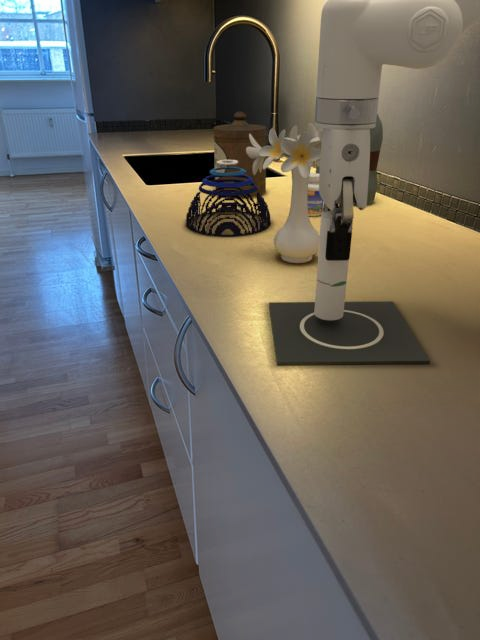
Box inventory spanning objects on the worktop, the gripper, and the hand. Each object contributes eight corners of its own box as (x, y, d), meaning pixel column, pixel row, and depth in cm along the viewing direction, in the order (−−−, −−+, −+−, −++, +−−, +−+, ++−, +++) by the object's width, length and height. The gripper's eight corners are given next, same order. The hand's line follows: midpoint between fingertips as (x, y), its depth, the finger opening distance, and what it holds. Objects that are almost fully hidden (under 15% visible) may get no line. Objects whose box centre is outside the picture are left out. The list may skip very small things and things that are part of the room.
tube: (311, 318, 75) (318, 218, 68) (316, 305, 79) (323, 209, 72) (341, 322, 74) (351, 220, 67) (344, 309, 77) (354, 212, 70)
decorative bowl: (273, 236, 114) (275, 170, 107) (183, 236, 114) (179, 170, 107) (268, 211, 131) (269, 153, 125) (190, 212, 131) (187, 154, 125)
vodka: (356, 196, 145) (368, 79, 131) (382, 202, 139) (397, 81, 125) (333, 201, 140) (343, 81, 126) (359, 208, 134) (372, 82, 120)
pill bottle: (302, 216, 127) (304, 177, 123) (299, 210, 132) (301, 172, 128) (324, 216, 127) (327, 176, 123) (320, 210, 132) (323, 172, 128)
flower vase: (250, 246, 108) (250, 120, 97) (338, 249, 106) (350, 120, 94) (242, 268, 97) (242, 129, 85) (341, 273, 94) (354, 130, 83)
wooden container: (217, 186, 157) (215, 109, 147) (265, 186, 156) (266, 109, 146) (213, 198, 144) (210, 114, 134) (265, 198, 143) (267, 114, 133)
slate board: (392, 304, 83) (392, 300, 82) (429, 363, 67) (430, 359, 66) (268, 305, 83) (269, 301, 82) (276, 365, 67) (277, 360, 66)
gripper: (394, 121, 56) (375, 276, 64) (361, 107, 71) (348, 234, 79) (326, 122, 56) (315, 276, 64) (307, 107, 71) (300, 234, 79)
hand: (334, 252), depth 72 cm, fingers closed on tube, 4 cm apart
